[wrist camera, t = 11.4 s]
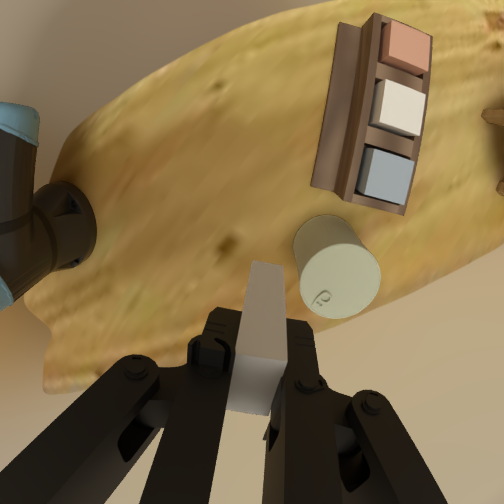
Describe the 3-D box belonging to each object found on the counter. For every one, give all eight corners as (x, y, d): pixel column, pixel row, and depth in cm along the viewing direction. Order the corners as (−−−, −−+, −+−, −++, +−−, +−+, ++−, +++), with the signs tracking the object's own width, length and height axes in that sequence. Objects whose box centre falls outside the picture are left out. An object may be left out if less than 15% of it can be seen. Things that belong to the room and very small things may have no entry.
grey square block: (349, 184, 35) (364, 194, 29) (357, 146, 33) (374, 148, 27) (384, 193, 35) (404, 205, 29) (392, 157, 33) (414, 161, 27)
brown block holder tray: (310, 185, 38) (317, 194, 31) (338, 24, 29) (349, 4, 22) (402, 207, 38) (423, 221, 31) (427, 56, 29) (451, 46, 22)
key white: (361, 124, 32) (379, 121, 26) (367, 88, 30) (385, 78, 24) (397, 135, 32) (419, 135, 26) (402, 100, 30) (425, 94, 24)
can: (279, 246, 41) (280, 287, 30) (326, 200, 38) (347, 226, 27) (322, 286, 43) (336, 335, 32) (368, 245, 40) (397, 283, 29)
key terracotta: (370, 67, 29) (388, 55, 23) (374, 36, 27) (391, 19, 21) (405, 80, 29) (428, 71, 23) (408, 48, 27) (430, 36, 21)
